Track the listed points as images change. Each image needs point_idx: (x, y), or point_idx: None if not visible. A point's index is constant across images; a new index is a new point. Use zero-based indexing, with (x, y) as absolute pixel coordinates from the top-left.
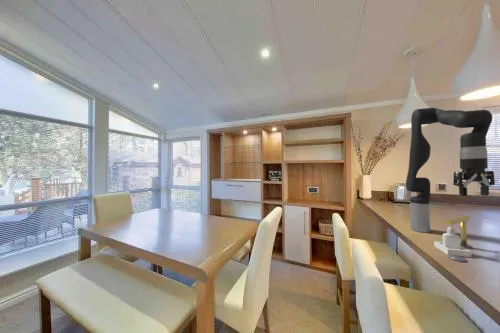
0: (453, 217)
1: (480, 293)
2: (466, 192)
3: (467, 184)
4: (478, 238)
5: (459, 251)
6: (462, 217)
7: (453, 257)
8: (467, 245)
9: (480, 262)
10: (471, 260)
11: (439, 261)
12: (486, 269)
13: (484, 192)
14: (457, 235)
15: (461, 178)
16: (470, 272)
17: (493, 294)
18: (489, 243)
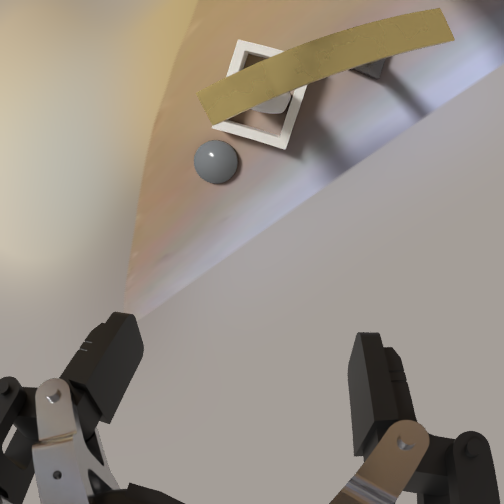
0: (319, 42)
1: (128, 306)
2: (123, 379)
3: (99, 456)
4: (498, 15)
5: (249, 138)
6: (382, 51)
7: (205, 159)
8: (373, 64)
9: (273, 184)
10: (258, 169)
11: (146, 177)
12: (239, 226)
13: (356, 382)
14: (273, 108)
15: (17, 488)
16: (177, 240)
17: (147, 311)
18: (488, 56)
